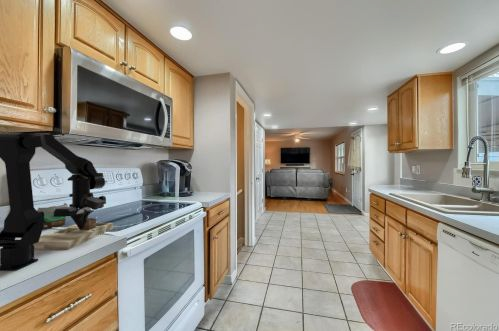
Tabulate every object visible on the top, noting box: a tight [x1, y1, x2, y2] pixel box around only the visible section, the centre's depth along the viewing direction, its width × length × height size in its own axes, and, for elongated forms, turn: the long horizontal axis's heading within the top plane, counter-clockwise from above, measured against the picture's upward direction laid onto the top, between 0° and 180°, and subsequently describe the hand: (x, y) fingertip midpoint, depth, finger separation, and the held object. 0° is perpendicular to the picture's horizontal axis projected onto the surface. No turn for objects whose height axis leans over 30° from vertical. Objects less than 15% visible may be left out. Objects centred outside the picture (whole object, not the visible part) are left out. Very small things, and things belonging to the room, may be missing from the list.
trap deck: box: [33, 222, 114, 250], centre depth 88 cm, size 24×16×3 cm, turn 179°
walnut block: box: [80, 217, 97, 230], centre depth 91 cm, size 4×4×4 cm
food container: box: [36, 202, 69, 230], centre depth 102 cm, size 12×6×10 cm, turn 168°
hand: (81, 228), depth 87 cm, fingers closed
